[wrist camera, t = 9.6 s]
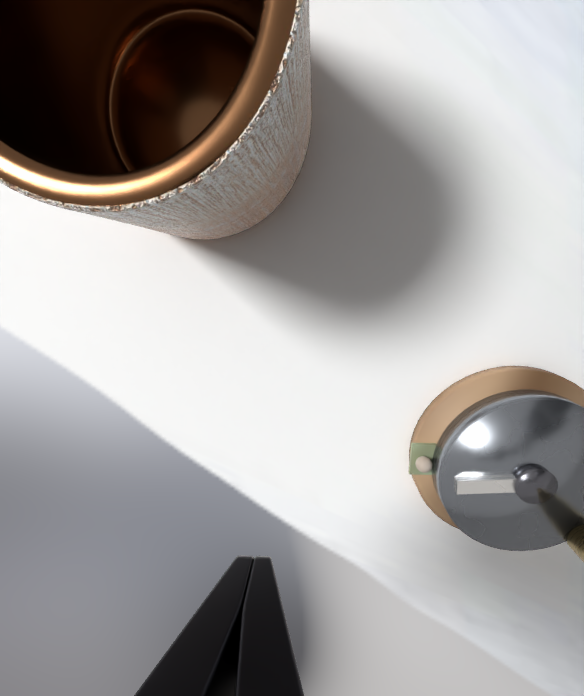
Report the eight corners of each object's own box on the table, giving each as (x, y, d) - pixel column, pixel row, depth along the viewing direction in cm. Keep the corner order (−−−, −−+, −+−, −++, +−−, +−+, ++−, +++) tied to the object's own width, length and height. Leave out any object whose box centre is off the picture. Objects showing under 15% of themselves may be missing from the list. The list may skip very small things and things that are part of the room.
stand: (617, 366, 18) (651, 377, 16) (577, 529, 21) (602, 555, 19) (412, 365, 19) (424, 376, 17) (400, 524, 22) (408, 548, 20)
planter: (75, 9, 16) (-271, -365, 6) (304, -22, 15) (294, -500, 6) (121, 248, 18) (-75, 232, 9) (317, 232, 17) (325, 197, 8)
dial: (433, 394, 18) (477, 441, 13) (612, 384, 17) (726, 429, 13) (429, 534, 20) (466, 618, 15) (587, 530, 20) (676, 616, 15)
